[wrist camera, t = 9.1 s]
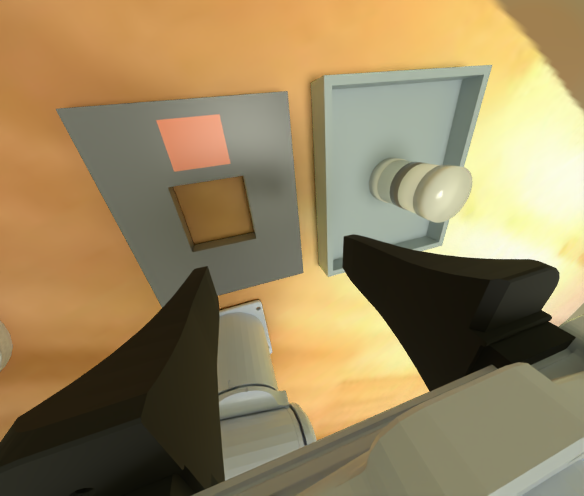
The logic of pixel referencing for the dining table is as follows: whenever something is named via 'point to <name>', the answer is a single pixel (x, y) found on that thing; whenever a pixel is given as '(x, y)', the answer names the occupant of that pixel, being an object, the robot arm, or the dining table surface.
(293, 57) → the dining table surface
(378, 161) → the parts tray
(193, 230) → the dining table surface
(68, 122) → the fuse holder
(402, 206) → the fuse
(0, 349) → the magnifying glass
